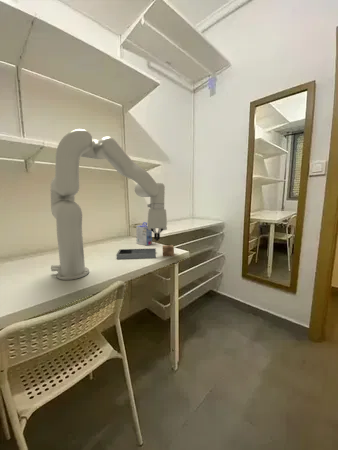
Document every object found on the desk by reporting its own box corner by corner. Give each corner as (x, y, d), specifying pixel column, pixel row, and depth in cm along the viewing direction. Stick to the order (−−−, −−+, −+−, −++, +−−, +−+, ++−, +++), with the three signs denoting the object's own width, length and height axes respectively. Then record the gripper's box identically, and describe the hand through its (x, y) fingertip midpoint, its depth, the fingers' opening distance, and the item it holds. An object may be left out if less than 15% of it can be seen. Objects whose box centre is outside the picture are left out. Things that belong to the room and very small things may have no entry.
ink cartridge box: (152, 244, 141) (152, 222, 138) (146, 245, 136) (146, 223, 134) (142, 242, 147) (141, 221, 144) (136, 243, 142) (135, 222, 140)
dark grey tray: (116, 259, 110) (116, 254, 110) (119, 253, 120) (119, 249, 120) (155, 257, 111) (155, 253, 111) (155, 252, 121) (155, 248, 121)
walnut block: (162, 256, 114) (162, 247, 113) (162, 253, 119) (162, 245, 118) (173, 256, 114) (173, 247, 113) (173, 253, 119) (173, 245, 118)
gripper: (142, 206, 108) (142, 241, 110) (171, 207, 109) (171, 241, 111) (143, 206, 115) (143, 238, 118) (170, 206, 116) (170, 239, 119)
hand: (156, 240), depth 115 cm, fingers closed
